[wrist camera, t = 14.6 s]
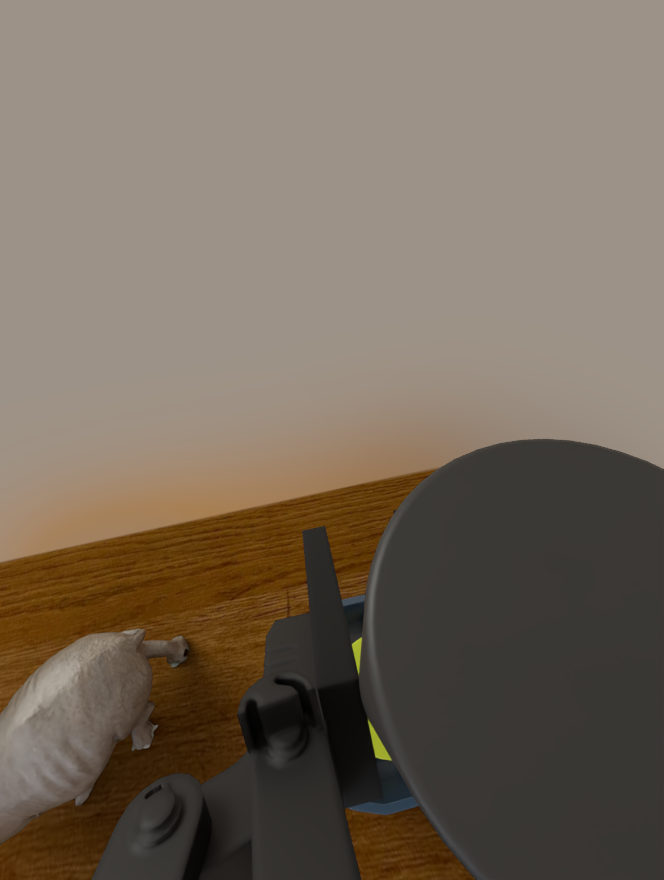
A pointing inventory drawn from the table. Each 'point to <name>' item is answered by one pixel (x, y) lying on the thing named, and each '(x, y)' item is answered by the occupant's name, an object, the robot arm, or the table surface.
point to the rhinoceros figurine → (75, 721)
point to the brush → (526, 659)
